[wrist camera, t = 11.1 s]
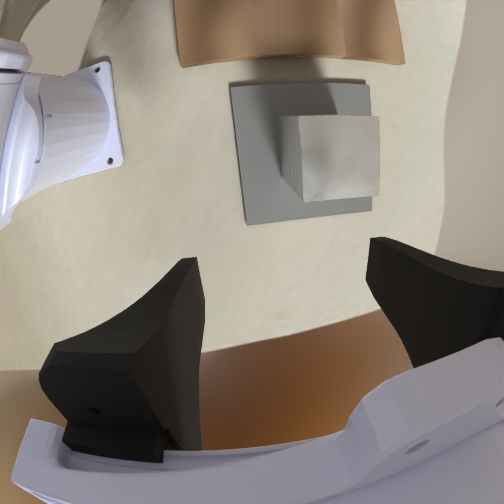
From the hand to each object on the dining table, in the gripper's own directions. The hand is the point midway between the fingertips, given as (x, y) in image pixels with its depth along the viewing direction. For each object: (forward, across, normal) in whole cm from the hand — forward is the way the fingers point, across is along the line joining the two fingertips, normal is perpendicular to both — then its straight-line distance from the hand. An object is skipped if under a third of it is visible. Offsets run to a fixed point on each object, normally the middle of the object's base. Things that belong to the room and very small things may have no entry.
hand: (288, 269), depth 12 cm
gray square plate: (+10, -4, -3) cm, 12 cm away
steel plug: (+10, -4, -4) cm, 11 cm away
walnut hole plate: (+10, -3, -18) cm, 21 cm away
